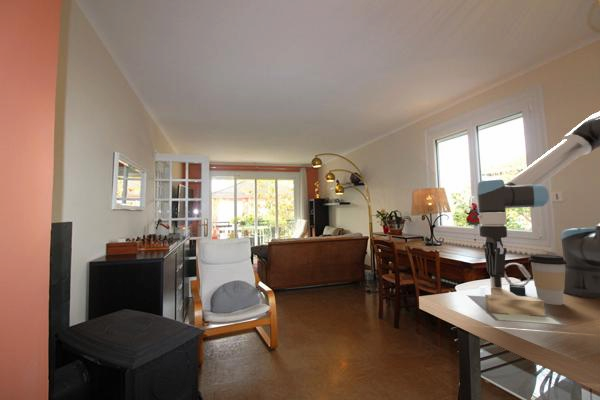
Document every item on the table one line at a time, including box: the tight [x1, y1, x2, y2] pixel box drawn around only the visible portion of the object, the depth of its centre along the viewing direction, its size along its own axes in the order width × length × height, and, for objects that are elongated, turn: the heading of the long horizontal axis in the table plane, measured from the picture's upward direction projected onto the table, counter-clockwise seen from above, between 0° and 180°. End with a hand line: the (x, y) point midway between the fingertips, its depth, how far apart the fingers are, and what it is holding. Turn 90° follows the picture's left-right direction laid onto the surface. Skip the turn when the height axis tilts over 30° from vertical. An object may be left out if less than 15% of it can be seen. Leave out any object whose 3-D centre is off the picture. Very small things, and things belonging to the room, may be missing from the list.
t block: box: [484, 287, 546, 316], centre depth 84 cm, size 13×13×4 cm
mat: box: [467, 295, 569, 326], centre depth 83 cm, size 16×24×1 cm, turn 164°
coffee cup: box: [527, 253, 567, 306], centre depth 89 cm, size 9×9×15 cm
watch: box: [503, 262, 532, 297], centre depth 98 cm, size 6×8×11 cm
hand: (496, 296), depth 91 cm, fingers closed
